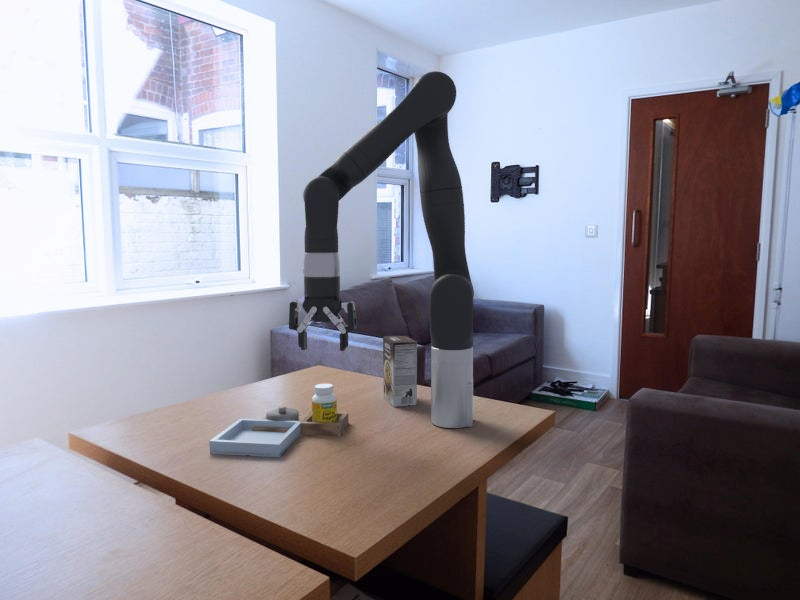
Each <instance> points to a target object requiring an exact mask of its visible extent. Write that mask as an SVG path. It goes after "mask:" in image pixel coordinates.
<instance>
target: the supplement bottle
mask: <svg viewBox="0 0 800 600" xmlns="http://www.w3.org/2000/svg"><path fill="white" fill-rule="evenodd" d="M313 388H314V390H313V391H314V393H315V394H314V395H313V396H312V398H311V411H312V422H325V423H336V422H337V412H338V405H337V404H338V402H337V400H338V399H337V395H336V394H334V393H333V392H334V384H332V383H318V384H316V385H315V386H314V387H313Z"/></svg>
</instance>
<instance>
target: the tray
mask: <svg viewBox="0 0 800 600" xmlns="http://www.w3.org/2000/svg"><path fill="white" fill-rule="evenodd" d="M300 422H302V421H287V420H285V421H273V420H264V418H263V419H258V418H239V419H237V420H236V421H234V422H233V423H232V424H230V425H229V426H227V427H226V428H225V429H224V430H223V431H221V432H220V433H219V434H217V435H216V436H215V437H213V438H211V439H210V440H209V454H210V455H211V454H212V455H226V456H229V455H231V456H245V455H250V456H249V457H267V458H270V457H271V458H281V456H282V455H284V453H286V451H287V450H288V449H289V448H290V447H291V446H292V444H294V443H295V441H297V439H298V438H299V437H301V423H300ZM253 427H276V428H290V429H289V430H288V431H287V432H268V431H252V428H253Z"/></svg>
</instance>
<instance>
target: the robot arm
mask: <svg viewBox="0 0 800 600" xmlns="http://www.w3.org/2000/svg"><path fill="white" fill-rule="evenodd" d="M456 97H457V87H456V84H455V82H454V80H453V78H451V77H450V75H448V74H447V73H446V72H445V73H444V72H442V71H436V70H435V71H434V70H433V71H430V72H427V73H423V75H421V76H420V77H419V78H418V79H417V80H416V81H415V83H414V84H413V86H412V87H411V89H410V90H409V92H408V93H407V94H406V96H405V97H404V98H403V99H402V100H401V101H400V102H399V104H398V105H397V106H395V108H393V109H392V110H391V111H390V112H389V113H388V114H387V115H386V116H385V117H383V119H381V120H380V121H379V122H377V124H375V125H374V126H373V127H372V128H370V129H369V130H368V131H367V132H366V133H364V134H363V135H362V136H361V137H359V138H358V139H357V140H356V141H355V142H353V143H352V144H351V145H350V146H349V147H347V149H345V150H344V151H343V152H342V153H341V154H339V156H338V157H337V158H336V159H335V160H334V161H333V163H332V164H331V165H329V166H328V167H327V168H326V169H325V170H324V171H323V172H321V173H320V174H319V175H317V176H315V177H314V178H311V179H310V180H309V181H308V182H307V183H306V185H305V187H304V189H303V192H302V193H303V194H302V197H303V202H304V215H305V217H304V218H305V228H304V257H303V258H304V259H303V269H302V271H303V288H304V289H303V295H304V300H303V301H298V300H293V301H291V302H290V303H289V315H288V317H289V318H288V329H289V330H291V331H295V332H297V336H298V337H297V339H298V340H297V341H298V342H297V343H298V348H300V349H301V351H306V350H307V349H308V331H306V330H307V329H308V327H309V326H310V325H311V323H313V322H314V323H320V322H323V323H330V322H332V324H333V325H334V326H335V327H336V328H337V329H338V330H339V332H340V333H339V351H340V352H345V351H346V349H347V348H348V347H349V333H350V332H353V331H354V330H355V329H357V328H358V324H357V309H356V308H357V307H356V303H355V301H352V300H351V301H350V302H342V300H341V268H340V267H341V265H340V254H339V233H338V220H339V206H340V205H339V204H340V203H339V201H340V200H341V199H343V198H344V197H345V196H346V195H347V194H348V193H349V192H350V191H351V190H352V189H353V188H354V187H356V186H357V185H359V184H361V183H362V182H363V181H365V180H366V179H367V178H368V177H370V175H372V173H374V172H375V171H376V170H377V169H378V168H379V167H381V166H382V165H383V164H384V162H386V161H387V160H388V158H390V156H392V155H393V153H395V151H396V150H397V149H398V148H399V147H400V146H401V145H402V144H403V143H405V141H407V140H408V139H409V138H410V137H411V136H412V135H413V134H414V139H415V145H416V150H417V152H416V153H417V154H416V155H417V173H418V186H419V194H420V205H421V206H420V207H421V213H422V218H423V221H424V222H423V223H424V226H425V230H426V234H427V237H428V242H429V243H430V247H431V251H432V259H433V284H432V287H431V289H430V293H429V335H430V345H431V347H430V361H431V362H430V366H431V367H430V369H431V370H430V381H431V382H430V397H431V398H430V416H431V417H430V419H431V421H430V422H431V424H432V425H435V426H437V427H439V428H446V429H460V428H468V427H469V428H470V427H471V428H472V427H473V421H474V376H473V375H474V297H475V292H474V286H473V282H472V278H471V274H470V270H469V266H468V265H469V264H468V260H467V254H466V245H465V244H466V242H465V241H466V219H465V218H466V216H465V200H464V192H463V185H462V181H461V180H462V179H461V175H460V172H459V169H458V165H457V164H456V161H455V158H454V156H453V153H452V150H451V146H450V139H449V126H448V125H449V123H448V115H449V113H450V111H451V110H452V109H453V108H454V105H455V103H456V99H457V98H456ZM302 309H303V310H304V312H305V313H306V315H305V316H304V318H303V319H302V321H301V323H299V313H300V312H301V310H302ZM342 309H343V310H344V313H347V322H348V324H346V323H345V321H344V318H342V315H340V311H342Z"/></svg>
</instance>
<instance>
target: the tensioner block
mask: <svg viewBox="0 0 800 600" xmlns="http://www.w3.org/2000/svg"><path fill="white" fill-rule="evenodd" d="M299 412H300V411H299V410H298V409H296V408H291V407H287V406H285V405H283V406H282V405H281V406H279V407H278V408H274V409H271V410H269V411H267V412H266V413H265V417H264V418H263V419H264V420H273V421H285V420H287V421H302V422H300V423H301V435H302V436H305V435H306V436H322V437H323V436H325V437H326V436H327V437H340V436H341V434H342V433H343V432H344V430H345V429H346V428H347V426H348V425H349V423H350V422H349V421H350V420H349V412H348V411H347V412H345V411H337V422H336V423H325V422H312V410H311V411H310V412H309V413H308V414H300V413H299ZM289 429H290V428H276V427H253V428H252V431H268V432H287V431H288V430H289ZM301 435H300V436H301Z"/></svg>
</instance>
